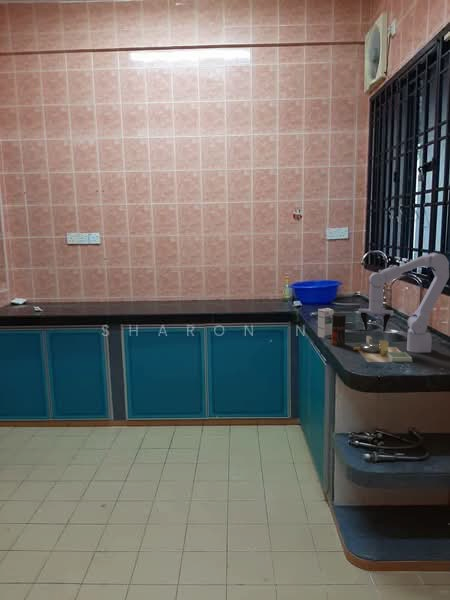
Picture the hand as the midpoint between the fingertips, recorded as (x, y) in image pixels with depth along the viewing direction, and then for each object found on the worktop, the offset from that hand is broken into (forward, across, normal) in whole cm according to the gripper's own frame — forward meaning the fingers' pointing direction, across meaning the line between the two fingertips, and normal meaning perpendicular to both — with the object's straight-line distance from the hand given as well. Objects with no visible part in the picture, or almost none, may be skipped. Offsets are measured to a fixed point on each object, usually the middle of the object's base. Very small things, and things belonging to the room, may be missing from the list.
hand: (375, 330), depth 195 cm
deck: (+9, -4, +7) cm, 12 cm away
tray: (+9, -11, +12) cm, 18 cm away
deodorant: (+10, +16, 0) cm, 19 cm away
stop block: (+9, -5, +8) cm, 13 cm away
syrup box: (+9, +26, -15) cm, 31 cm away
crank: (+8, +3, +2) cm, 9 cm away
